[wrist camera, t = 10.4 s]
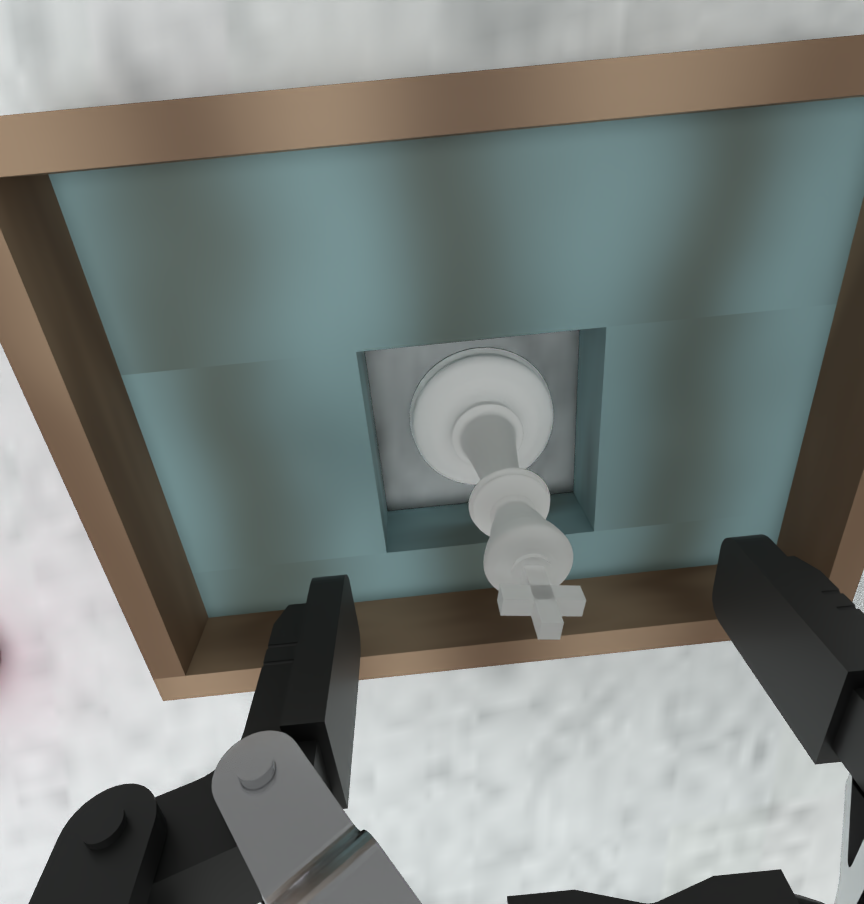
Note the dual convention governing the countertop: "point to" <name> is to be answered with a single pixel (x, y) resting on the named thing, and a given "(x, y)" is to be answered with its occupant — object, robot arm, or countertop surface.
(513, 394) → the chess piece
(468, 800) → the countertop surface
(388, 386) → the countertop surface
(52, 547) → the countertop surface
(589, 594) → the box
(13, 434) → the countertop surface
